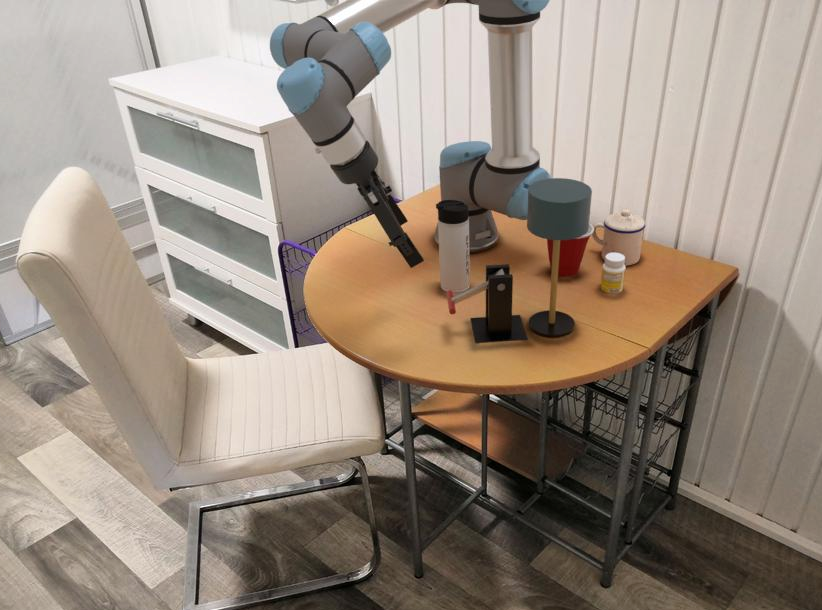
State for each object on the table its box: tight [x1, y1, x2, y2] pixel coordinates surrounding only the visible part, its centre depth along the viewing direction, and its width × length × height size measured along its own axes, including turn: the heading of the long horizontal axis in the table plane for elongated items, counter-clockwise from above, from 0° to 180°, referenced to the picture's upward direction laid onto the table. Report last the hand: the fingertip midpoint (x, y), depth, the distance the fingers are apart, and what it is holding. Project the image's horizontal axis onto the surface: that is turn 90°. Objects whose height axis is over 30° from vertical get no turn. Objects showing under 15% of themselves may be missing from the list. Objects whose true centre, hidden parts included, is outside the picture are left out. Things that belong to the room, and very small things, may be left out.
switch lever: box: [446, 269, 505, 315], centre depth 138 cm, size 12×7×2 cm, turn 95°
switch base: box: [470, 263, 528, 344], centre depth 140 cm, size 10×9×14 cm
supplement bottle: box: [600, 253, 627, 294], centre depth 154 cm, size 5×5×8 cm
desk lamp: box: [526, 177, 593, 339], centre depth 137 cm, size 11×11×29 cm
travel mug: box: [435, 200, 471, 294], centre depth 153 cm, size 6×7×20 cm
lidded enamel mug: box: [591, 208, 646, 267], centre depth 167 cm, size 12×9×12 cm
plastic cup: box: [546, 222, 594, 278], centre depth 160 cm, size 11×11×12 cm
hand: (409, 243), depth 135 cm, fingers open, 13 cm apart
